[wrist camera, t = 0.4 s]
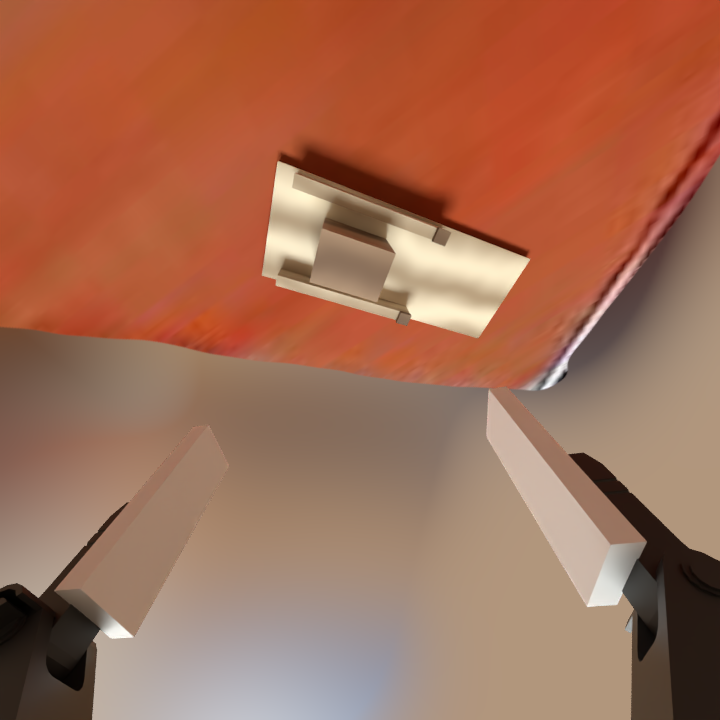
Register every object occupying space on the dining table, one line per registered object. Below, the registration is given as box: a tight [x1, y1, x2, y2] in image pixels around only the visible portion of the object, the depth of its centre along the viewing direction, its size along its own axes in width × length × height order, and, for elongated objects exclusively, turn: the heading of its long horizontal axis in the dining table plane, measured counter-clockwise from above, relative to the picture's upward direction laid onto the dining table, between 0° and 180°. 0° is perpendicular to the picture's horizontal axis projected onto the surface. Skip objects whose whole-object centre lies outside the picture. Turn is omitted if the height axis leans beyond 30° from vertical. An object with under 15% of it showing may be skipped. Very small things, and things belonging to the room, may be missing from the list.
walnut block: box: [310, 217, 396, 302], centre depth 29 cm, size 5×7×6 cm
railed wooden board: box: [262, 161, 530, 338], centre depth 32 cm, size 12×30×4 cm, turn 71°
